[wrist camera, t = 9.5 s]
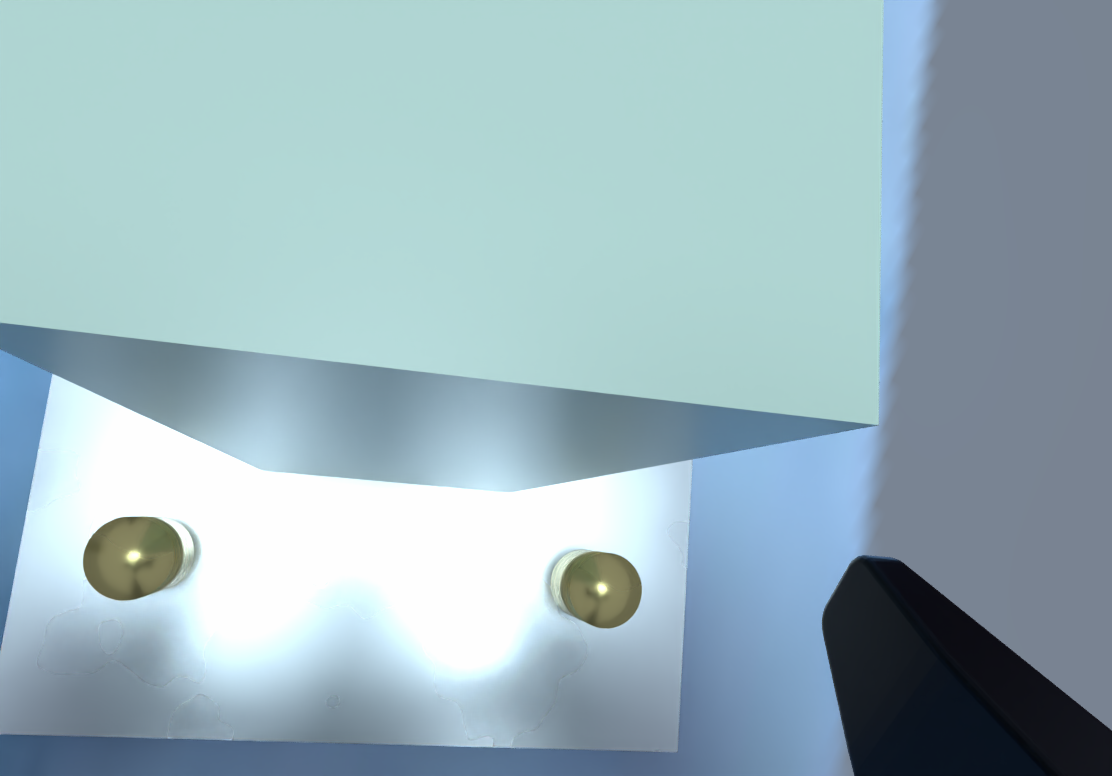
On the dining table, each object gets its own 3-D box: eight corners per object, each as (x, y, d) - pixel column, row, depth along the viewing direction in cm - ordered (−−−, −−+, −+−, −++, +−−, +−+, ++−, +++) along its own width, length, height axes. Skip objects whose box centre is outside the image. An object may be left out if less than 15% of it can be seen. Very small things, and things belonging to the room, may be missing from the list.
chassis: (667, 744, 18) (712, 778, 16) (-2, 725, 15) (-66, 762, 13) (703, 66, 21) (745, 9, 18) (143, -50, 18) (110, -134, 16)
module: (513, 493, 17) (885, 425, 5) (258, 470, 16) (-91, 310, 4) (536, 221, 18) (893, -402, 6) (298, 184, 17) (126, -671, 5)
